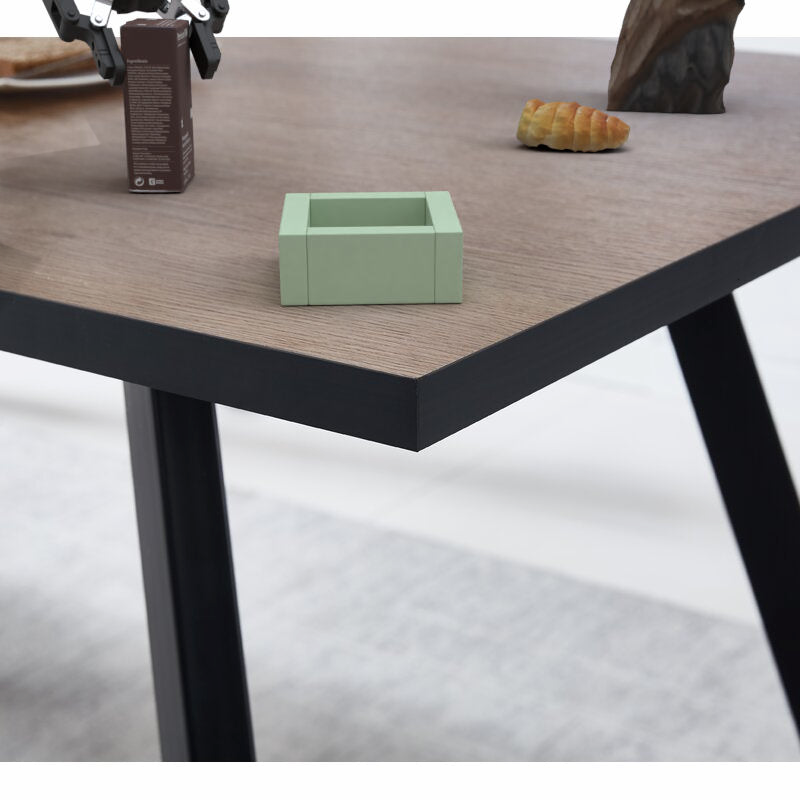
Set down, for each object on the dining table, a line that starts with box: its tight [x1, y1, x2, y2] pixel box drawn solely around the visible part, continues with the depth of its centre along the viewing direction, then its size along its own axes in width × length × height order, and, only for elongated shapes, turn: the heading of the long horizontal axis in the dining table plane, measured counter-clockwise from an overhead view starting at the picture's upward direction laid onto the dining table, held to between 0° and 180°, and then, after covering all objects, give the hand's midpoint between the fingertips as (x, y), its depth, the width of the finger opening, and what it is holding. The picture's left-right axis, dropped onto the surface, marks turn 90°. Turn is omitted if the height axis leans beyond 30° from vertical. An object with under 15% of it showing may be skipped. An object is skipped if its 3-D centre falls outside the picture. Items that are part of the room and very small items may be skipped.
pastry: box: [515, 98, 631, 153], centre depth 113 cm, size 9×7×4 cm
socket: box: [277, 190, 464, 307], centre depth 75 cm, size 10×10×4 cm
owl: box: [606, 0, 746, 115], centre depth 130 cm, size 13×13×20 cm
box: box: [119, 17, 196, 194], centre depth 97 cm, size 6×4×12 cm
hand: (165, 75), depth 95 cm, fingers closed on box, 6 cm apart
